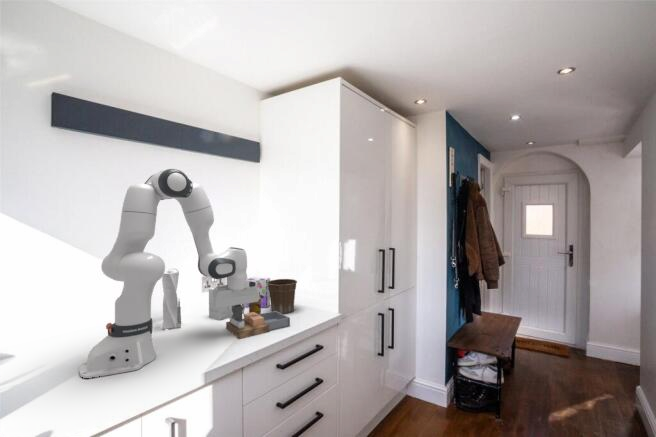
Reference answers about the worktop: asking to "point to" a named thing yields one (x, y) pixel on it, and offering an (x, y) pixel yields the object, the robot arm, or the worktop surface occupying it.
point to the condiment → (255, 306)
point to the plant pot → (282, 295)
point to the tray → (275, 320)
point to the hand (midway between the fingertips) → (236, 314)
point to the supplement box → (217, 312)
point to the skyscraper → (171, 300)
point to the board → (247, 329)
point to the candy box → (262, 290)
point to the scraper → (237, 317)
